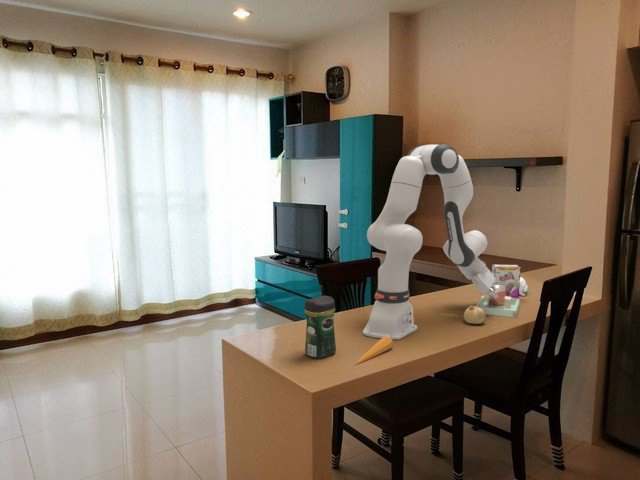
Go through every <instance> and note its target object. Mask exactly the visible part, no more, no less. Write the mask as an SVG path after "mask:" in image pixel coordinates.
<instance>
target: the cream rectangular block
mask: <svg viewBox="0 0 640 480" xmlns="http://www.w3.org/2000/svg"><path fill="white" fill-rule="evenodd" d="M487 296H488V297H487V307H489V295H487ZM504 308H505V309H510V308H511V297H508V296H505V305H504Z"/></svg>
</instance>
